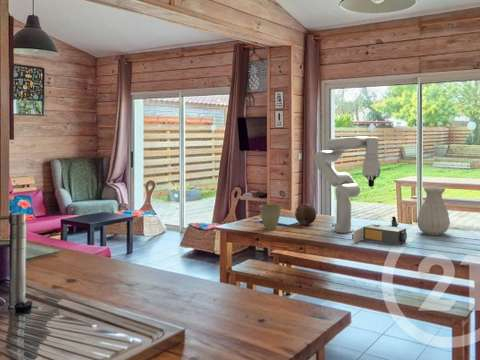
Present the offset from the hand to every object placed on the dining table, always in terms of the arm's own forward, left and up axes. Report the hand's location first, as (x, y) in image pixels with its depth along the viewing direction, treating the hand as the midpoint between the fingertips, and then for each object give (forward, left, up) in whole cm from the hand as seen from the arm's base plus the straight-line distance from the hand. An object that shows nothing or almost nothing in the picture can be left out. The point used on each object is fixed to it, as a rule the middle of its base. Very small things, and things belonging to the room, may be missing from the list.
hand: (371, 186), depth 303 cm
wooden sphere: (-54, +7, -32) cm, 63 cm away
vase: (+25, +37, -32) cm, 55 cm away
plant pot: (-63, -22, -32) cm, 74 cm away
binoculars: (+4, +20, -32) cm, 38 cm away
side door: (0, -16, -32) cm, 36 cm away
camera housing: (+12, -3, -32) cm, 34 cm away
